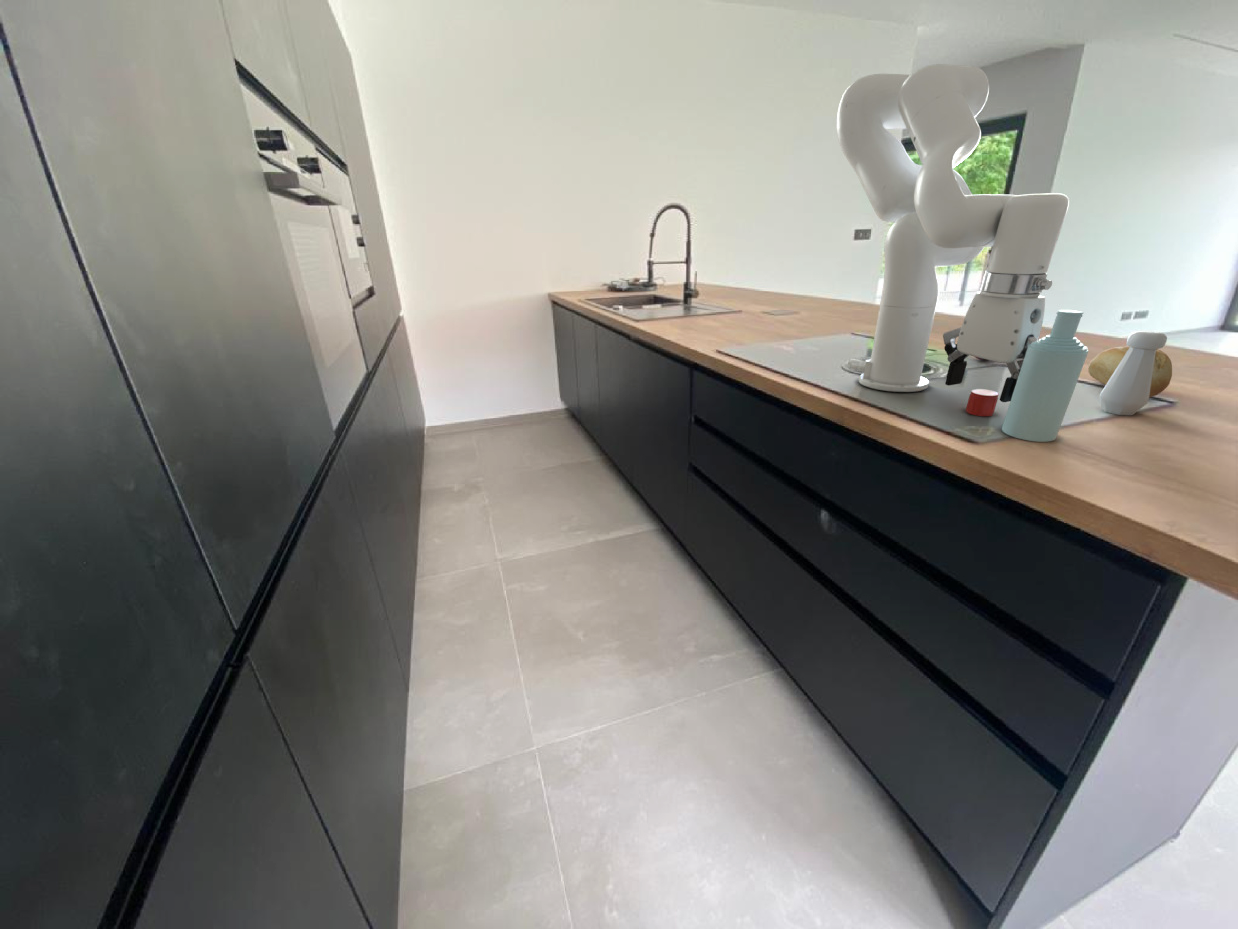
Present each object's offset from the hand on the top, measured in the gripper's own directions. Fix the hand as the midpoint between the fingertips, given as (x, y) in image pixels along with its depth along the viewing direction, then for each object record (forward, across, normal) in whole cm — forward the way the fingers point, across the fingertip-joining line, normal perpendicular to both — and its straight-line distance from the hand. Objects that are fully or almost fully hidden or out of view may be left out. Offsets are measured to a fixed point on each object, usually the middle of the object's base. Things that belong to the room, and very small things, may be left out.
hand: (979, 392), depth 84 cm
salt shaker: (+3, -10, -20) cm, 23 cm away
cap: (+3, -1, 0) cm, 4 cm away
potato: (+4, -3, -34) cm, 35 cm away
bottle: (+3, -11, +2) cm, 11 cm away
